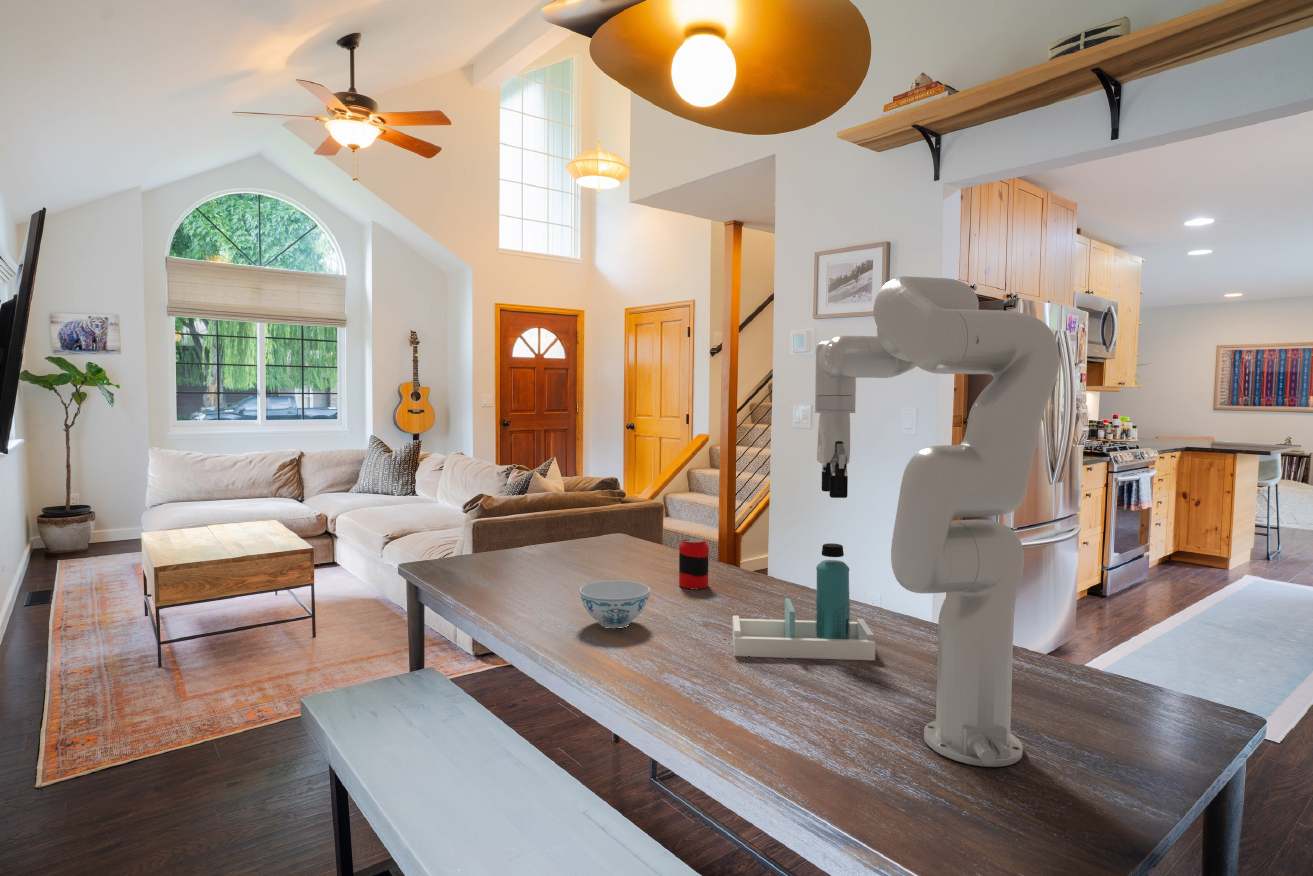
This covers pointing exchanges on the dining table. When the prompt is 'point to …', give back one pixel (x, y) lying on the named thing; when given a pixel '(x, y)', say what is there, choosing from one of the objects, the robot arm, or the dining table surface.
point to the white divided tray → (800, 640)
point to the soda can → (693, 563)
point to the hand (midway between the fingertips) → (833, 494)
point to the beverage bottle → (832, 595)
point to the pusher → (789, 619)
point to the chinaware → (614, 601)
